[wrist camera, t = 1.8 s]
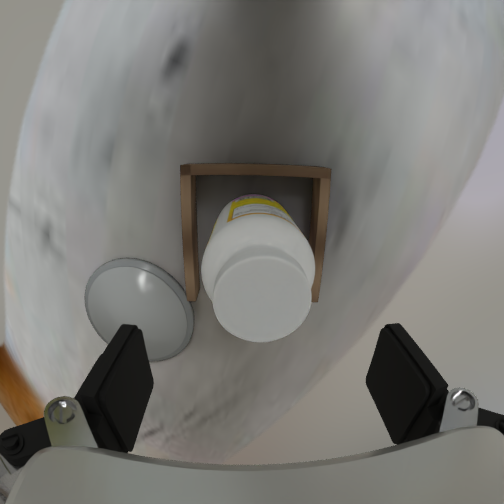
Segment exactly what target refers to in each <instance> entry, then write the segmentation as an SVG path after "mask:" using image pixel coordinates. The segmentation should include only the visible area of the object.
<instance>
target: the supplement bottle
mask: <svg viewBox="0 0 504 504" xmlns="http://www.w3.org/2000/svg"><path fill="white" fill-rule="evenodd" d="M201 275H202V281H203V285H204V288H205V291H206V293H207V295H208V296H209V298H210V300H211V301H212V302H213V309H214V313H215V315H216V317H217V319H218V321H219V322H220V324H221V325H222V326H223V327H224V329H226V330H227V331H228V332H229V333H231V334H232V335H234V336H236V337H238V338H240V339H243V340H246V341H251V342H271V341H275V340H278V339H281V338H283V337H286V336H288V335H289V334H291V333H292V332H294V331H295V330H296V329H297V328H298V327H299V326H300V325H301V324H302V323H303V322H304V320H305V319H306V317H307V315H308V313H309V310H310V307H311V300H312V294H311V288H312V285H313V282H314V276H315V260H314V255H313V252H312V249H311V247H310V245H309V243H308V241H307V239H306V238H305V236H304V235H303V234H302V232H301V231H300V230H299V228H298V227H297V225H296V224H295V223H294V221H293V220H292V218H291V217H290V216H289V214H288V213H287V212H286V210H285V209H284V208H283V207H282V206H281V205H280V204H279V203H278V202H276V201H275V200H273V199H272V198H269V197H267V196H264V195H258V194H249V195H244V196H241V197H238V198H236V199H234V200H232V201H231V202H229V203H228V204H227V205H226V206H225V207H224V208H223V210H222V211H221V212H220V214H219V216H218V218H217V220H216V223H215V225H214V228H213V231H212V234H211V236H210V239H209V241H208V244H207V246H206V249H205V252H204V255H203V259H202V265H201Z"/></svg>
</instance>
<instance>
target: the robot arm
mask: <svg viewBox="0 0 504 504" xmlns="http://www.w3.org/2000/svg"><path fill="white" fill-rule="evenodd" d="M153 384H154V382H153V376H152V372H151V368H150V364H149V360H148V356H147V351H146V347H145V342H144V337H143V332H142V330H141V329H138V327H137V325H131V324H122V325H121V326H120V328H119V329H118V331H117V332H116V334H115V335H114V337H113V338H112V340H111V341H110V343H109V345H108V346H107V348H106V349H105V351H104V352H103V354H101V355H100V356H99V358H98V360H97V361H96V363H95V364H94V366H93V368H92V369H91V371H90V372H89V374H88V376H87V377H86V379H85V381H84V382H83V384H82V386H81V387H80V389H79V391H78V393H77V394H76V396H75V398H71V397H67V396H62V397H57V398H55V399H53V400H51V401H50V402H49V403H48V404H47V405H46V407H45V410H44V417H43V418H40V419H37V420H35V421H32V422H29V423H26V424H22V425H19V426H16V427H13V428H10V429H8V430H5V431H4V432H3V433H2V434H1V435H0V504H504V415H501V414H498V413H494V412H491V411H488V410H485V409H481V408H478V406H479V403H478V399H477V397H476V396H475V395H474V393H472V392H471V391H469V390H467V389H465V388H454V389H452V390H451V391H450V392H449V391H448V390H447V387H448V384H447V383H446V381H445V380H444V379H443V378H442V376H441V375H440V373H439V372H438V371H437V369H436V368H435V367H434V366H433V364H432V363H431V362H430V360H429V359H428V358H427V356H426V355H425V354H424V353H423V351H422V350H421V349H420V348H419V346H418V345H417V344H416V343H415V342H414V340H413V339H412V338H411V336H410V335H409V334H408V333H407V332H406V330H405V329H404V328H403V327H402V326H401V325H400V324H399V323H397V324H396V323H395V324H387V325H385V327H384V328H382V329H381V331H380V334H379V338H378V341H377V345H376V348H375V351H374V355H373V358H372V361H371V364H370V367H369V370H368V373H367V376H366V385H367V387H368V389H369V392H370V394H371V396H372V398H373V400H374V402H375V404H376V406H377V409H378V411H379V413H380V415H381V417H382V419H383V422H384V424H385V426H386V428H387V430H388V432H389V435H390V437H391V439H392V441H393V443H394V444H397V445H395V446H391V447H387V448H383V449H379V450H375V451H370V452H365V453H361V454H356V455H350V456H345V457H338V458H332V459H326V460H317V461H309V462H299V463H286V464H268V465H223V464H204V463H192V462H182V461H173V460H166V459H158V458H151V457H145V456H139V455H134V454H129V453H128V451H130V452H131V451H132V450H133V448H134V444H135V441H136V438H137V435H138V432H139V428H140V425H141V422H142V419H143V416H144V413H145V410H146V407H147V404H148V401H149V398H150V395H151V392H152V389H153Z"/></svg>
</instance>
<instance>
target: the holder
mask: <svg viewBox="0 0 504 504" xmlns="http://www.w3.org/2000/svg"><path fill="white" fill-rule="evenodd" d="M196 175H265V176H291V177H310V178H313V193H312V208H311V222H310V235H309V245H310V247H311V249H312V252H313V255H314V260H315V276H314V282H313V285H312V288H311V294H312V300H311V302H318V298H319V291H320V283H321V276H322V267H323V259H324V250H325V241H326V231H327V220H328V208H329V195H330V180H331V169H330V168H325V167H316V166H300V165H281V164H248V163H203V164H184V165H180V183H181V217H182V239H183V256H184V271H185V284H186V296H187V301H196V299H197V296H198V293H199V290H200V283H199V264H198V242H197V209H196Z"/></svg>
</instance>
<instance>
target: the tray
mask: <svg viewBox="0 0 504 504" xmlns="http://www.w3.org/2000/svg"><path fill="white" fill-rule="evenodd" d="M85 307H86V312H87V315H88V318H89V320H90V322H91V324H92V326H93V327H94V329H95V330H96V332H97V333H98V334H99V336H100V337H101V338H102V339H103V340H104V341H105V342H106V343H107V344H108V345H109V343H110V341H111V340H112V338H113V337H114V335H115V334H116V332H117V331H118V329H119V328H120V326H121V325H122V324H131V325H137V327H138V329H141V330H142V332H143V337H144V342H145V347H146V351H147V356H148V360H149V361H161V360H165V359H168V358H171V357H173V356H175V355H177V354H178V353H180V352H181V351H182V350H183V349H184V348H185V347H186V345H187V344H188V342H189V340H190V338H191V335H192V332H193V327H194V314H193V309H192V305H191V302H190V301H187V296H186V293H185V291H184V289H183V288H182V287H181V285H180V284H179V283H178V282H177V281H176V280H175V279H174V278H173V277H172V276H171V275H170V274H169V273H167V272H166V271H165V270H163V269H161V268H160V267H158V266H156V265H154V264H152V263H150V262H147V261H144V260H140V259H135V258H120V259H115V260H112V261H109V262H107V263H105V264H103V265H102V266H101V267H100V268H98V269H97V270H96V271H95V272H94V273H93V275H92V276H91V277H90V279H89V281H88V283H87V286H86V290H85Z"/></svg>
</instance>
